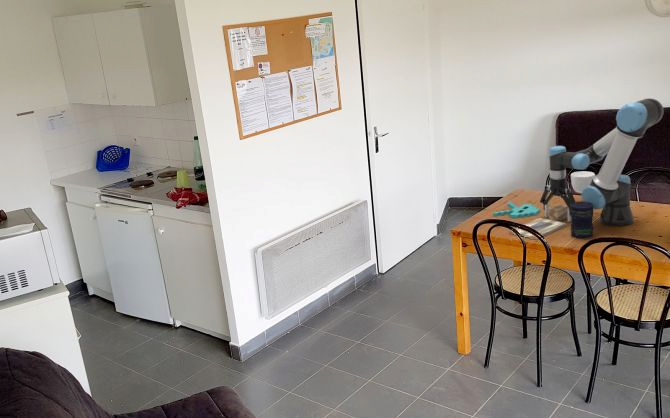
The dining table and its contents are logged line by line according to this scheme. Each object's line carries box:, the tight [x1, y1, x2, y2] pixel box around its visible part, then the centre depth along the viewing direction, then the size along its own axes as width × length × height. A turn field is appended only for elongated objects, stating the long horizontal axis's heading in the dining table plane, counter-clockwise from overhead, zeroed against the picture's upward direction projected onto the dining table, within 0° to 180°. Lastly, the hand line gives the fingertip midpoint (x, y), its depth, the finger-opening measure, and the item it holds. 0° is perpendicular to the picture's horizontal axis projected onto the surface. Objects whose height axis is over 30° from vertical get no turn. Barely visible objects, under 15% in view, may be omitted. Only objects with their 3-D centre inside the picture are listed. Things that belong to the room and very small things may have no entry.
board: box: [508, 217, 567, 239], centre depth 319 cm, size 15×24×2 cm, turn 128°
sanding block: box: [548, 203, 569, 222], centre depth 330 cm, size 5×9×6 cm, turn 128°
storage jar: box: [570, 201, 594, 240], centre depth 304 cm, size 10×10×15 cm
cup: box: [570, 170, 596, 202], centre depth 345 cm, size 12×12×17 cm
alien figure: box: [492, 202, 541, 219], centre depth 348 cm, size 20×2×20 cm
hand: (558, 218), depth 331 cm, fingers open, 12 cm apart
